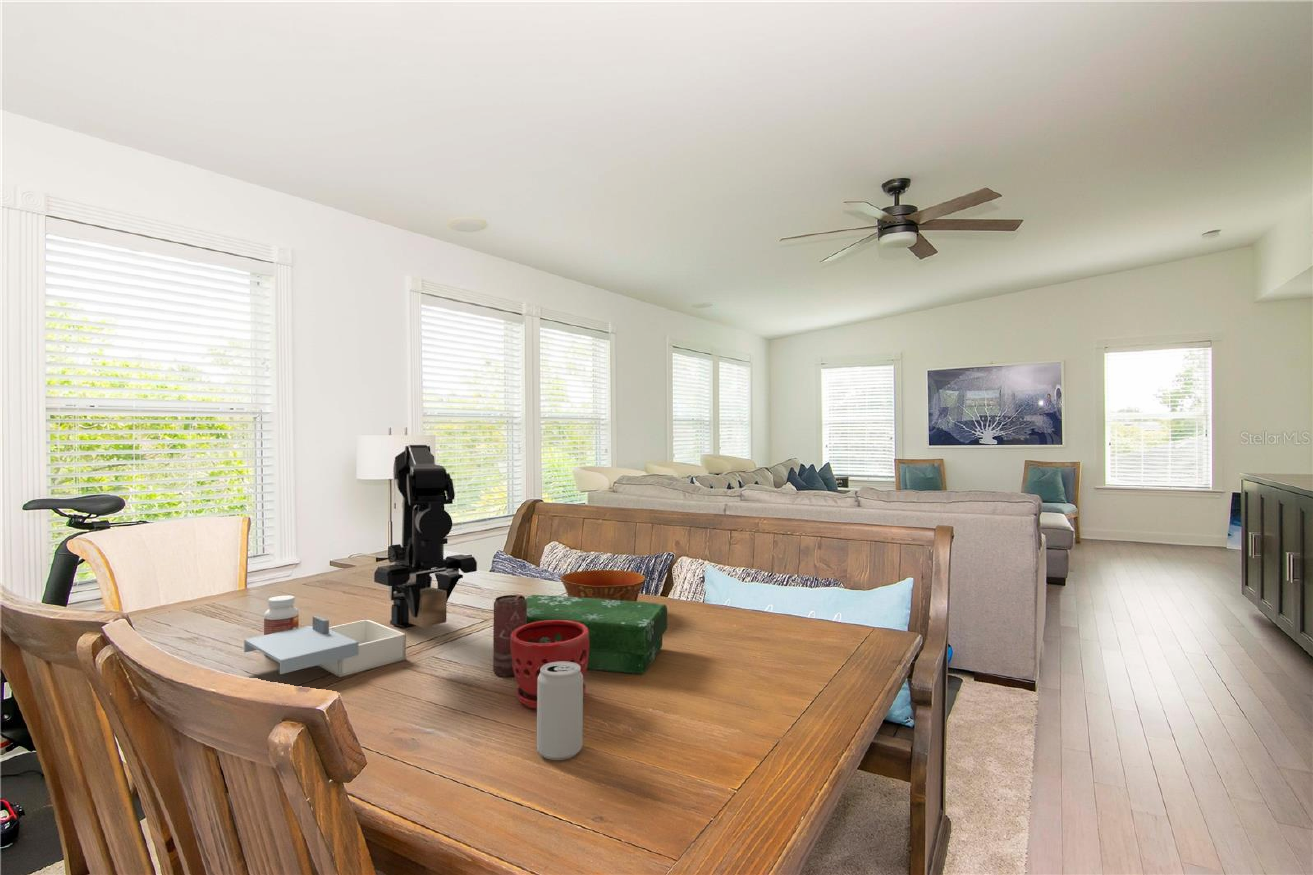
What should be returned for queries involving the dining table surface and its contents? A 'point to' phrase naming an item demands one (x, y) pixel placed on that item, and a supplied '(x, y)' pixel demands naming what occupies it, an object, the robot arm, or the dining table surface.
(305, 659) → the lid
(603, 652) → the box
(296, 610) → the pill bottle
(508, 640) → the can
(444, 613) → the walnut block
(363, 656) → the box
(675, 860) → the dining table surface
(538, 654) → the plant pot
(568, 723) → the beverage can
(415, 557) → the robot arm
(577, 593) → the bowl
